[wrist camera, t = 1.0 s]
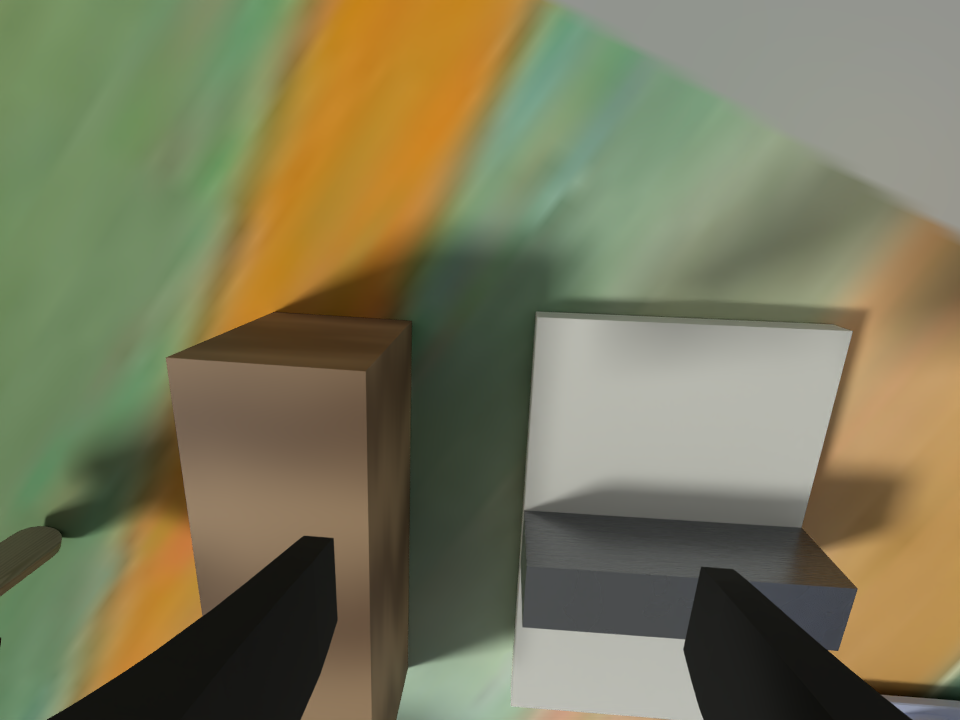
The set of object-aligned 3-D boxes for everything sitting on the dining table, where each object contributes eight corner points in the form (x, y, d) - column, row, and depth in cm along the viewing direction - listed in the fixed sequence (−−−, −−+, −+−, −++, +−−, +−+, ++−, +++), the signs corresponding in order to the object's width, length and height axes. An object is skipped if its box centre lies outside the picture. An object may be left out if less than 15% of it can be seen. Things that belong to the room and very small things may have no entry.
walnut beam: (408, 663, 22) (373, 820, 17) (301, 653, 22) (229, 804, 17) (413, 319, 18) (365, 371, 12) (276, 310, 18) (165, 357, 12)
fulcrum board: (738, 702, 21) (788, 809, 18) (510, 684, 22) (511, 784, 18) (833, 324, 17) (929, 358, 13) (535, 311, 17) (543, 339, 13)
